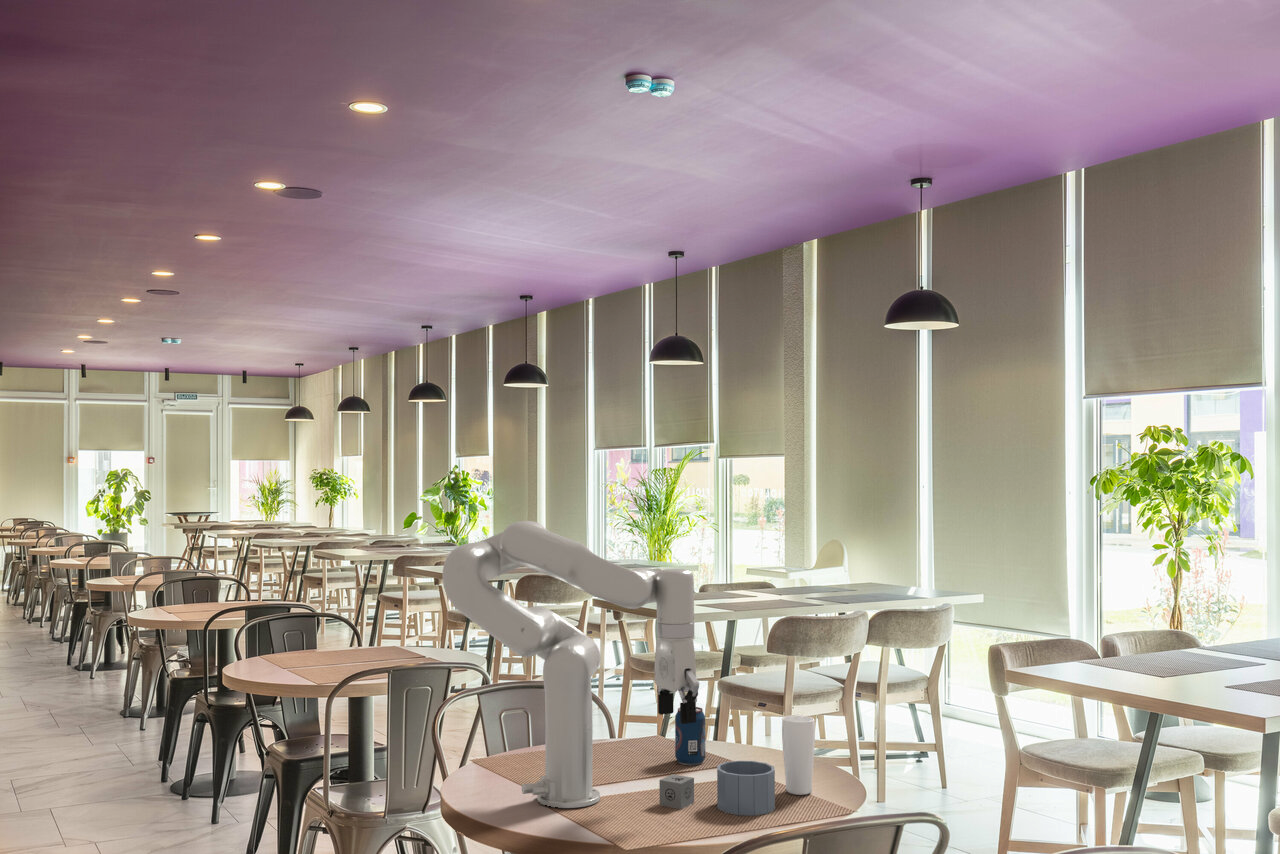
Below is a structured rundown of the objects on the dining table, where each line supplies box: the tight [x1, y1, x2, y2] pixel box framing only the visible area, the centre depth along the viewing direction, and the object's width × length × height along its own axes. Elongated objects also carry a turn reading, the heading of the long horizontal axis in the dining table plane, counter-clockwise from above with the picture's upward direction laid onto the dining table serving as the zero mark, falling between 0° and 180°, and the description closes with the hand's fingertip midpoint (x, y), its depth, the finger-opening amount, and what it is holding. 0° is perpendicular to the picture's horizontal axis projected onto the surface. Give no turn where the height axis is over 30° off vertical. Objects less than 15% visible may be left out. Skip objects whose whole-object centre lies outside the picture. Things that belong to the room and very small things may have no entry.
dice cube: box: [659, 773, 695, 810], centre depth 210 cm, size 5×5×5 cm
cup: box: [716, 760, 776, 817], centre depth 208 cm, size 11×11×8 cm
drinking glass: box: [781, 714, 816, 796], centre depth 218 cm, size 7×7×15 cm
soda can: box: [674, 706, 707, 766], centre depth 242 cm, size 7×7×12 cm
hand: (676, 718), depth 210 cm, fingers open, 9 cm apart
